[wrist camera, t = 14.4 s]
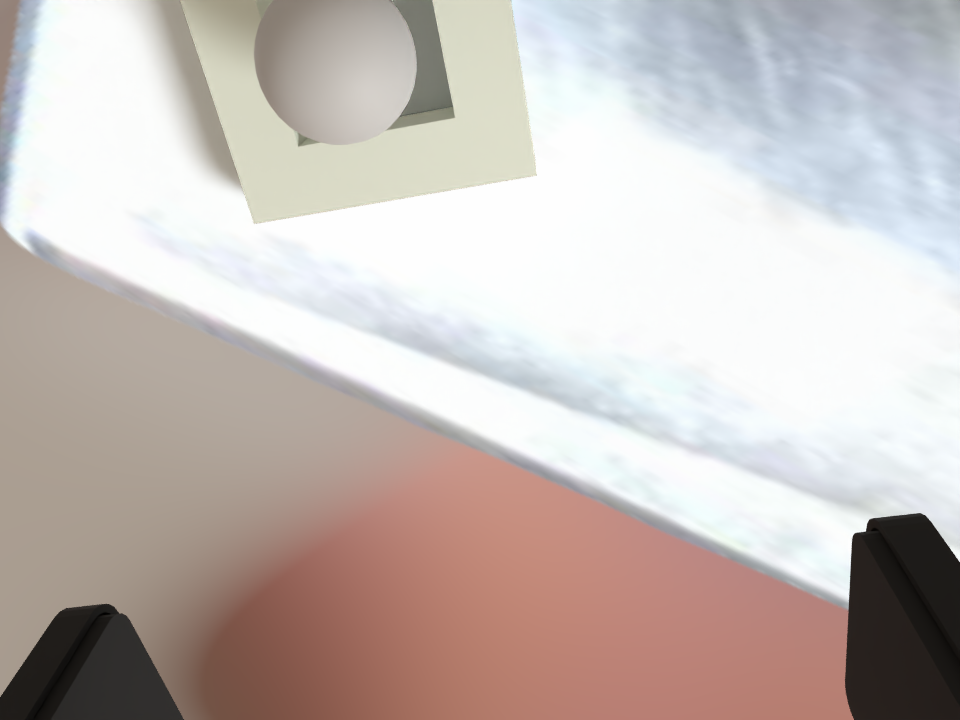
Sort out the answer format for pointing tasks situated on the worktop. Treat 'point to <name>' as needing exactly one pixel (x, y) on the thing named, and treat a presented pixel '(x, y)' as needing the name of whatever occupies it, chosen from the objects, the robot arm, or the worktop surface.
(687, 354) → the worktop surface
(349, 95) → the lightbulb
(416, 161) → the socket block
